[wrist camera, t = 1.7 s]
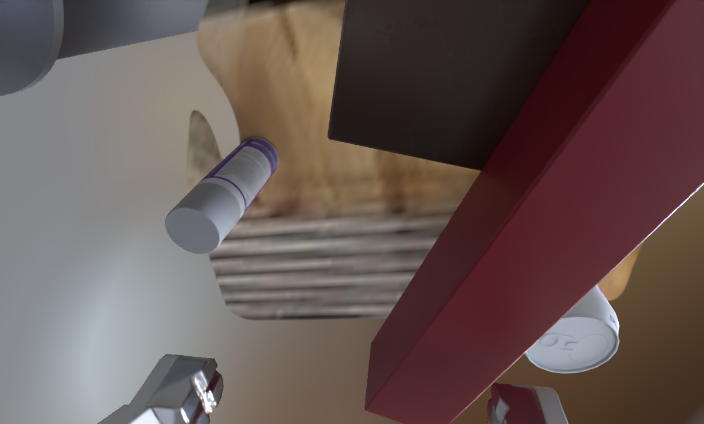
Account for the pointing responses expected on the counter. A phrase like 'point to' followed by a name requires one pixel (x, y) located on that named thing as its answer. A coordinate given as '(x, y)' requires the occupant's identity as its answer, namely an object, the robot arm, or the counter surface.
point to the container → (222, 197)
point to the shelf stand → (442, 72)
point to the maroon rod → (551, 207)
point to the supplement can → (579, 337)
